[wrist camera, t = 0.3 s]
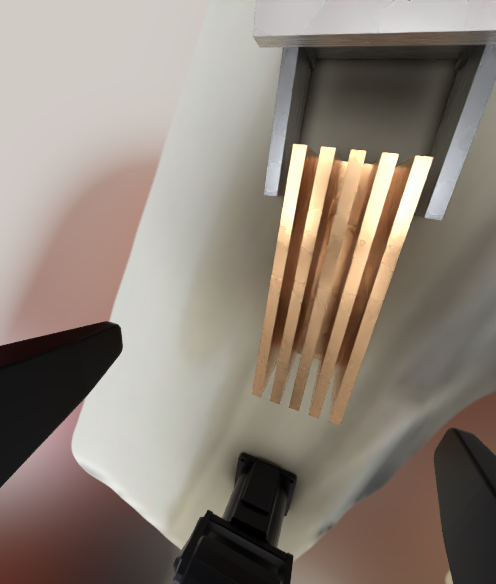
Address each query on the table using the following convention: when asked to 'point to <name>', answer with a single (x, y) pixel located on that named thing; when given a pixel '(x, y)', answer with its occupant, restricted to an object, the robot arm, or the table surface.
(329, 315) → the heat-sink block
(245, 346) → the table surface
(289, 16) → the grey open frame
